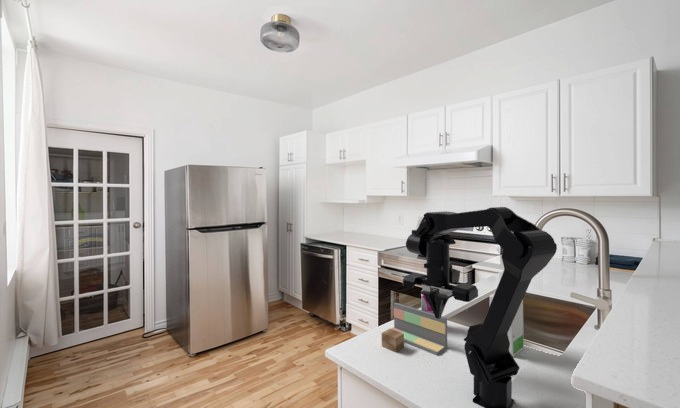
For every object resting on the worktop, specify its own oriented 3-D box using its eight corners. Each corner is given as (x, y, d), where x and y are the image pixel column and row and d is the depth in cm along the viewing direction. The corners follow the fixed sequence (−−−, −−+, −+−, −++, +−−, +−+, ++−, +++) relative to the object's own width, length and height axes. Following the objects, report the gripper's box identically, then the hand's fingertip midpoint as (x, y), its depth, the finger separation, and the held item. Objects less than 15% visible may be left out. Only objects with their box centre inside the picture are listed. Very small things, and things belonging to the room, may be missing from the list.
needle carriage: (407, 344, 91) (407, 331, 91) (395, 352, 87) (395, 338, 87) (393, 339, 95) (393, 326, 95) (381, 346, 91) (381, 332, 91)
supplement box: (420, 329, 102) (420, 295, 101) (421, 322, 107) (421, 289, 107) (439, 331, 100) (439, 296, 100) (439, 324, 106) (438, 290, 105)
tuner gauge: (447, 348, 89) (447, 317, 89) (436, 356, 85) (436, 324, 85) (396, 329, 102) (395, 302, 102) (384, 335, 98) (384, 307, 98)
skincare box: (512, 358, 83) (512, 301, 83) (487, 349, 88) (487, 295, 88) (524, 348, 89) (524, 294, 88) (500, 339, 94) (500, 289, 93)
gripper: (486, 259, 80) (487, 319, 80) (422, 250, 93) (423, 301, 94) (467, 267, 72) (468, 333, 73) (401, 256, 85) (401, 312, 86)
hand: (438, 318), depth 81 cm, fingers closed
